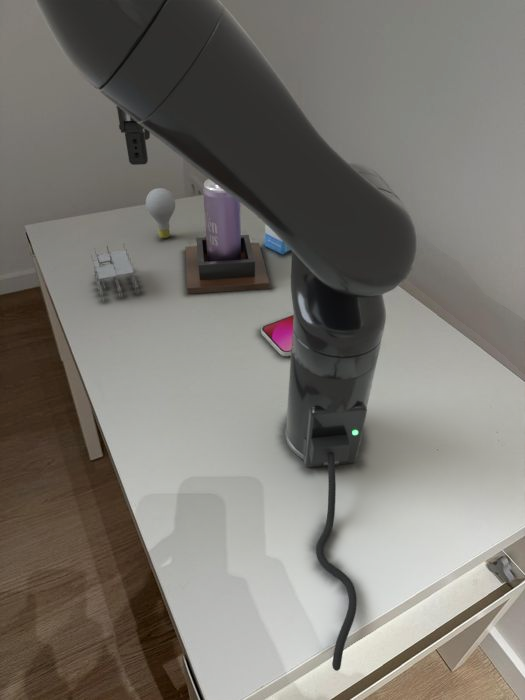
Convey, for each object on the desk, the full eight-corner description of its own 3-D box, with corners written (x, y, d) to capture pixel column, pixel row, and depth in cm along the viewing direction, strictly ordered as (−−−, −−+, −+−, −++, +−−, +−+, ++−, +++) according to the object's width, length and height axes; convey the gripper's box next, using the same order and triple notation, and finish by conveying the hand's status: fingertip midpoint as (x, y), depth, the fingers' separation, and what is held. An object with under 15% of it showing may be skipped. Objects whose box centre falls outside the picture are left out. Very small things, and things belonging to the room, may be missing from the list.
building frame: (102, 302, 85) (94, 271, 81) (94, 277, 91) (87, 248, 87) (139, 294, 87) (134, 264, 83) (129, 270, 93) (124, 241, 89)
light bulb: (176, 244, 100) (171, 195, 93) (148, 244, 100) (141, 195, 93) (180, 231, 104) (175, 183, 97) (153, 230, 104) (146, 183, 97)
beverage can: (248, 263, 93) (247, 183, 83) (224, 276, 89) (220, 194, 80) (225, 251, 96) (221, 172, 86) (201, 263, 92) (194, 183, 83)
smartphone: (258, 327, 79) (336, 297, 85) (258, 332, 80) (336, 302, 86) (284, 354, 75) (365, 321, 80) (284, 359, 75) (364, 326, 81)
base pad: (269, 288, 89) (269, 267, 86) (187, 294, 87) (185, 273, 85) (258, 247, 99) (259, 228, 97) (185, 252, 98) (183, 232, 95)
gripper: (90, -10, 60) (115, 133, 71) (73, 9, 50) (105, 174, 60) (155, -10, 61) (170, 131, 72) (152, 9, 51) (170, 171, 61)
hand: (140, 150), depth 66 cm, fingers open, 8 cm apart
